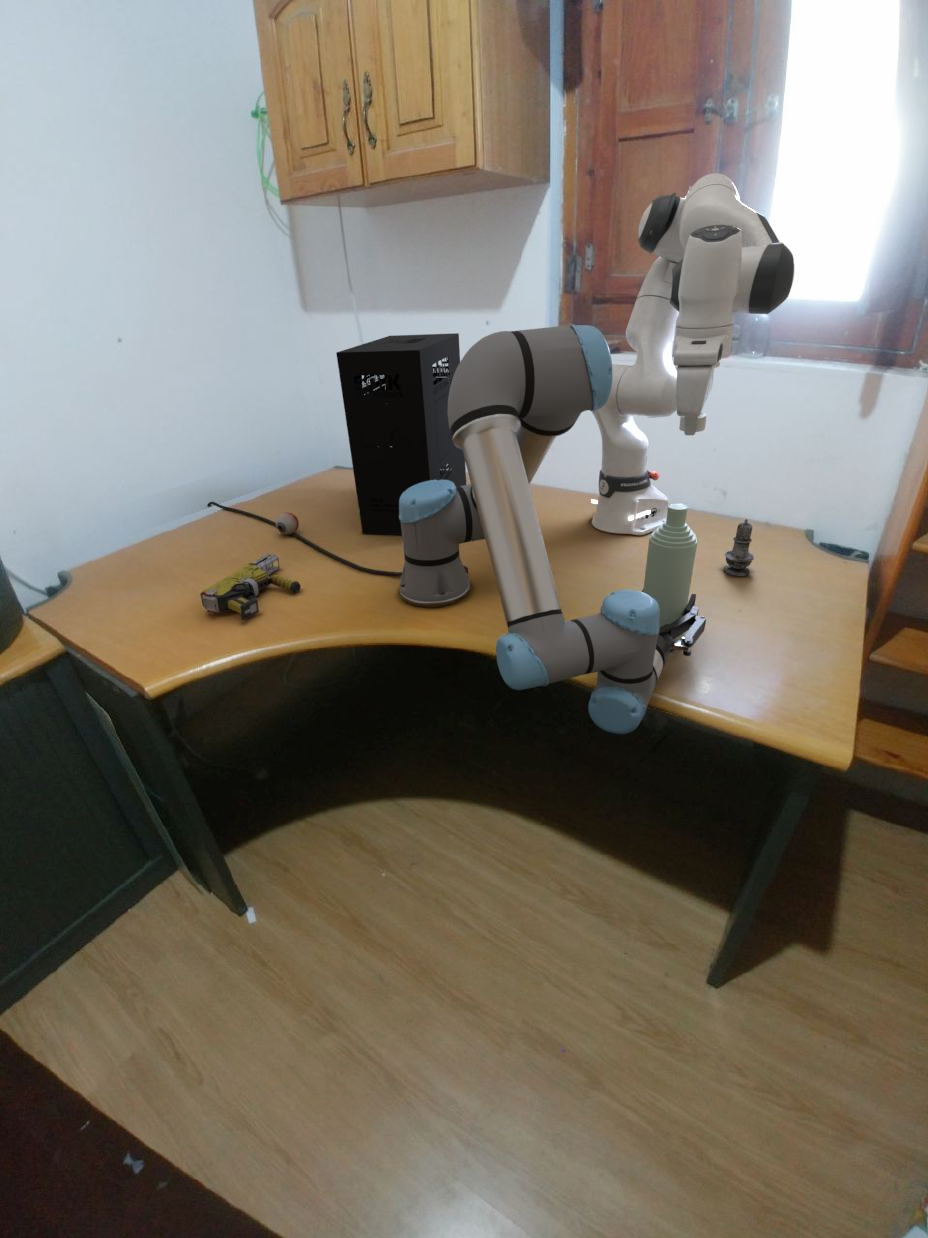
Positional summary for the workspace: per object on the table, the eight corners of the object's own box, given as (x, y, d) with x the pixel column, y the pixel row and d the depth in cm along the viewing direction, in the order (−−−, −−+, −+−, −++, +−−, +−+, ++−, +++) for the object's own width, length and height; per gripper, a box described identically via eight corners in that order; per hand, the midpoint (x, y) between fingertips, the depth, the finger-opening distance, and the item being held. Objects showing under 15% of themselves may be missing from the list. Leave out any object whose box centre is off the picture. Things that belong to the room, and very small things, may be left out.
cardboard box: (434, 536, 158) (419, 349, 136) (362, 533, 163) (336, 352, 140) (466, 490, 190) (458, 333, 167) (405, 489, 194) (389, 335, 172)
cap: (675, 430, 105) (676, 416, 104) (685, 424, 108) (687, 411, 107) (698, 433, 103) (700, 419, 102) (709, 427, 105) (710, 413, 104)
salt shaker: (753, 577, 129) (764, 524, 123) (724, 576, 130) (734, 523, 124) (748, 565, 134) (758, 514, 128) (720, 564, 135) (729, 513, 129)
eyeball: (273, 537, 164) (268, 516, 161) (287, 528, 169) (282, 508, 166) (291, 539, 161) (286, 518, 158) (305, 530, 166) (301, 510, 163)
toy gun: (320, 562, 140) (265, 550, 144) (256, 606, 120) (194, 592, 124) (321, 580, 142) (267, 568, 146) (259, 627, 122) (198, 612, 126)
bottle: (682, 628, 113) (702, 500, 101) (681, 650, 107) (703, 516, 94) (639, 623, 115) (654, 497, 103) (636, 644, 109) (652, 513, 96)
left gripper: (575, 664, 101) (612, 603, 118) (705, 695, 92) (725, 624, 109) (576, 626, 97) (615, 569, 114) (712, 654, 88) (732, 587, 105)
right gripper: (689, 334, 107) (681, 414, 115) (672, 355, 92) (664, 446, 99) (727, 333, 105) (716, 414, 112) (716, 355, 89) (704, 447, 97)
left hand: (669, 596), depth 112 cm, fingers closed on bottle, 8 cm apart
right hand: (691, 429), depth 105 cm, fingers closed on cap, 4 cm apart
